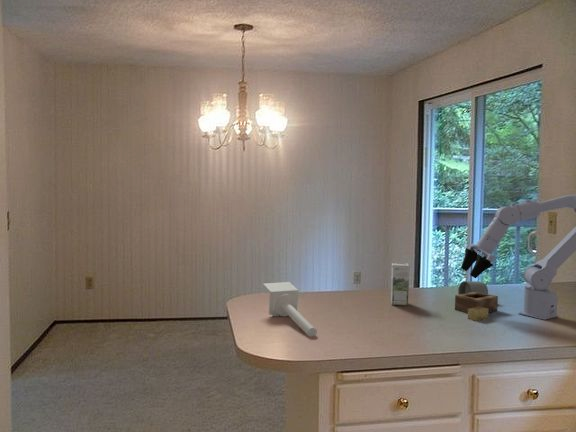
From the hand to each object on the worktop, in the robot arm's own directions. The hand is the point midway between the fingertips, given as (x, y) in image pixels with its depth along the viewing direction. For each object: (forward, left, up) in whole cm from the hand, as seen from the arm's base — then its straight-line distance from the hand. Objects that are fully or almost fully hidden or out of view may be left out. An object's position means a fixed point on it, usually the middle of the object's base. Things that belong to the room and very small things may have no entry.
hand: (467, 273), depth 184 cm
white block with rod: (+22, +57, -14) cm, 62 cm away
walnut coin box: (0, -5, -13) cm, 14 cm away
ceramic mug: (+10, -16, -13) cm, 23 cm away
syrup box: (+21, +10, -13) cm, 27 cm away
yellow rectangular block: (-7, +4, -13) cm, 16 cm away
